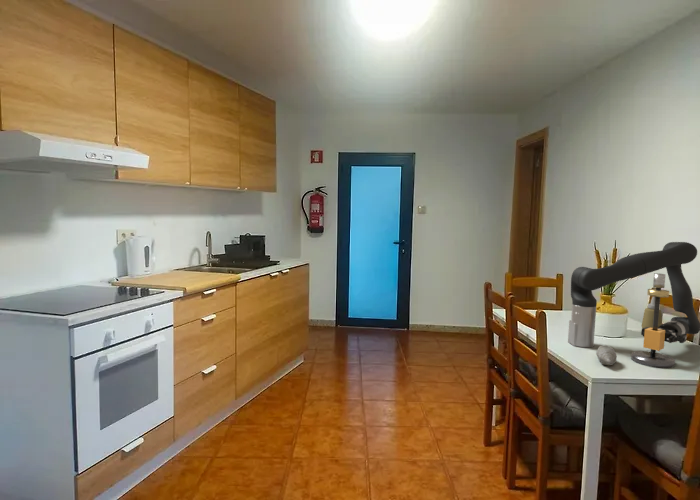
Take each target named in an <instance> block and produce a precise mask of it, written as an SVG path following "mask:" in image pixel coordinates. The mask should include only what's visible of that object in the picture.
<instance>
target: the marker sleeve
mask: <svg viewBox="0 0 700 500" xmlns="http://www.w3.org/2000/svg"><path fill="white" fill-rule="evenodd" d="M665 342H666V341H665V330H661V329H658V331H654V330H653V328H647V329H645V333H644V337H643V346H642V347H643V348H645V349H648V350H649V349H650V350H651V349H653V350H656V352H657V351H662V350H663V349H664V348H665Z"/></svg>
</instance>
